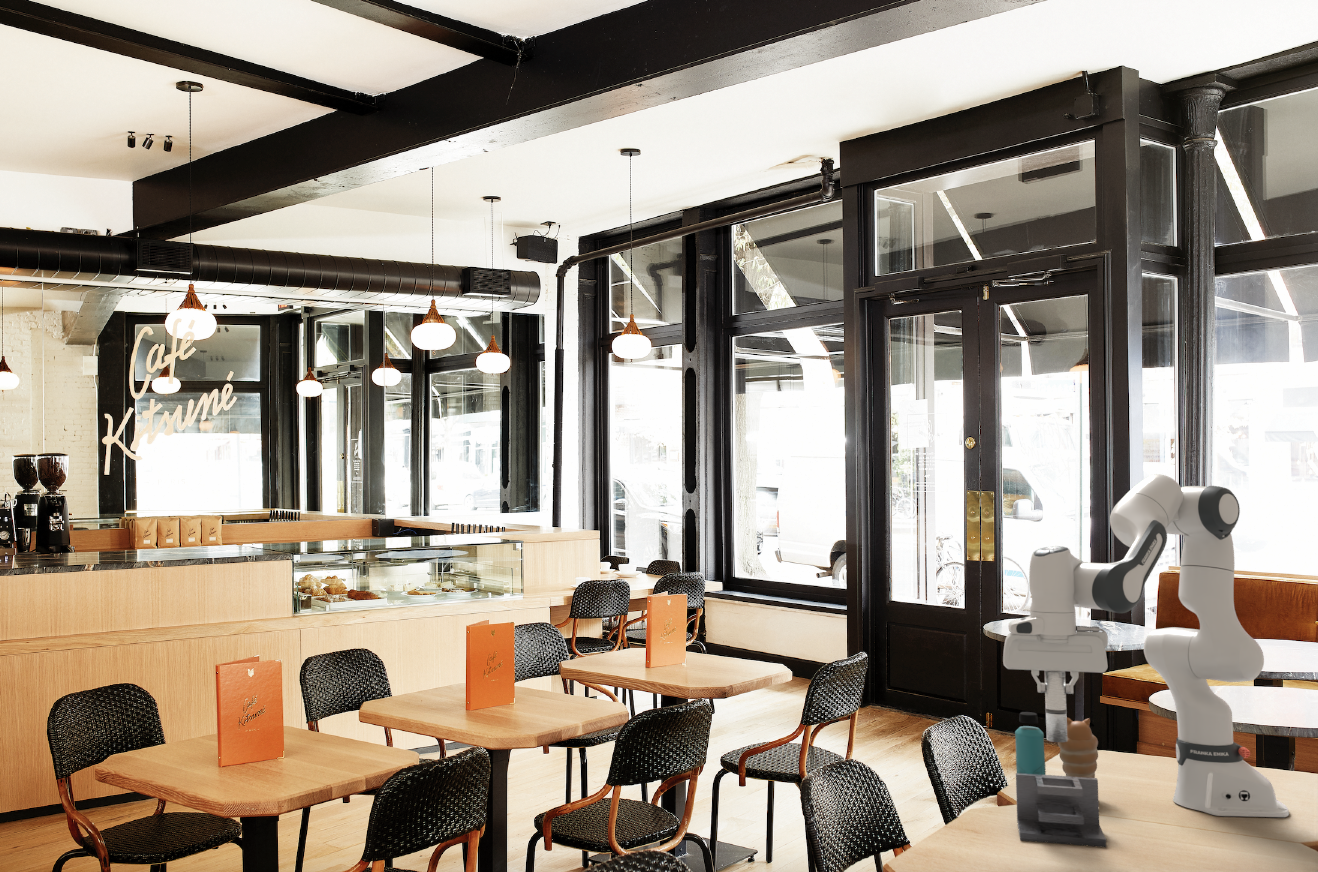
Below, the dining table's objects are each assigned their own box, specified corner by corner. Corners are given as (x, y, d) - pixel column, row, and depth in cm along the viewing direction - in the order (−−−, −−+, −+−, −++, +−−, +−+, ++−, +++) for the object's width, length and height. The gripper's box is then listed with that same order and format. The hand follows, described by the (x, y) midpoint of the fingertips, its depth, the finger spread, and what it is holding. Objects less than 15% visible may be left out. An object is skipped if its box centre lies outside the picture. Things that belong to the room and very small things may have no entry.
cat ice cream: (1097, 793, 239) (1094, 715, 240) (1103, 802, 231) (1100, 722, 232) (1057, 791, 241) (1054, 714, 242) (1062, 800, 233) (1059, 720, 234)
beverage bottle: (1049, 806, 228) (1046, 715, 230) (1018, 804, 230) (1015, 714, 231) (1044, 798, 235) (1041, 710, 236) (1014, 797, 236) (1011, 709, 238)
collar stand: (1098, 829, 212) (1096, 777, 212) (1106, 847, 200) (1104, 792, 201) (1017, 823, 216) (1015, 772, 217) (1020, 840, 205) (1018, 787, 206)
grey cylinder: (1066, 738, 211) (1064, 670, 212) (1068, 742, 207) (1066, 673, 208) (1045, 737, 212) (1043, 669, 213) (1046, 741, 208) (1044, 672, 209)
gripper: (1105, 625, 212) (1107, 692, 210) (1001, 622, 217) (1003, 688, 216) (1109, 628, 206) (1111, 697, 204) (1002, 625, 211) (1004, 692, 210)
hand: (1055, 692), depth 210 cm, fingers closed on grey cylinder, 4 cm apart
